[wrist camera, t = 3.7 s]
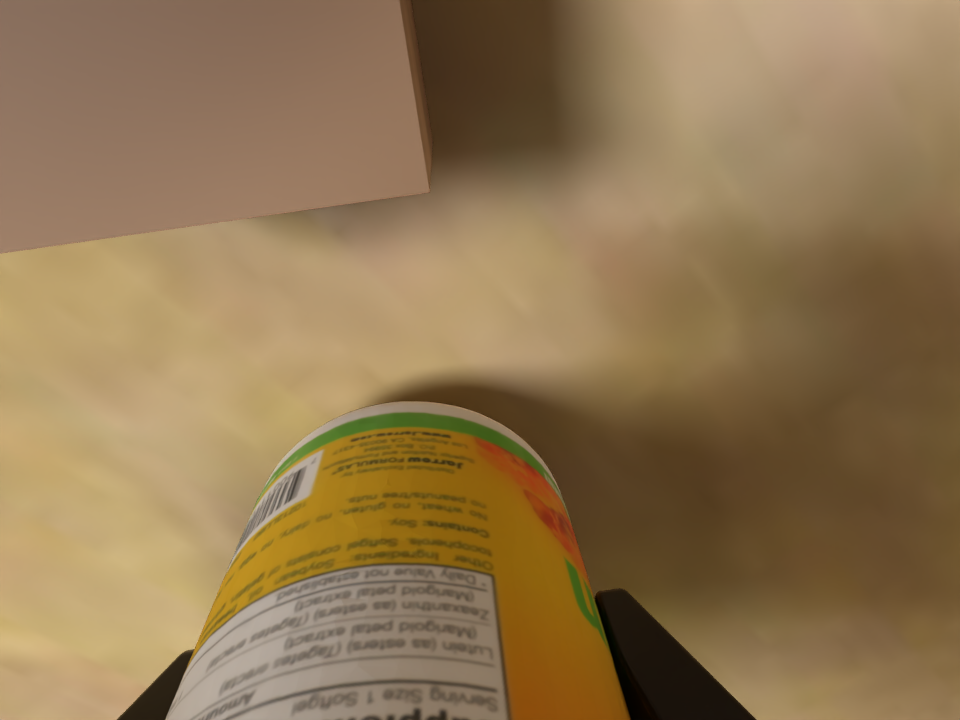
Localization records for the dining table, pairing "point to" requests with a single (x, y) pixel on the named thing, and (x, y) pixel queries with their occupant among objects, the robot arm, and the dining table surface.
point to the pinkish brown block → (202, 113)
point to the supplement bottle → (405, 584)
